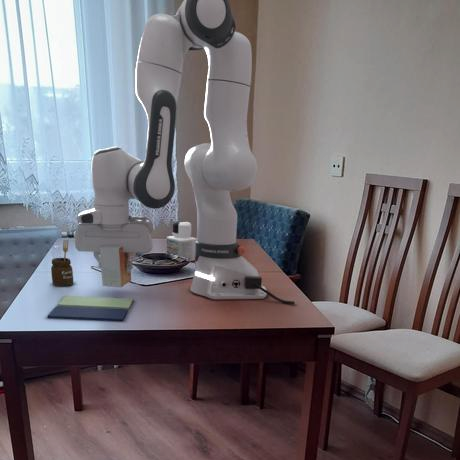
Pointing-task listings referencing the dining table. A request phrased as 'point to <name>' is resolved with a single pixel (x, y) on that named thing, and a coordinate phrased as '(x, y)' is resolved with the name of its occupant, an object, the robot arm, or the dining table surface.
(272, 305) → the dining table surface
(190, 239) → the container
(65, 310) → the slate mat
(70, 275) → the utensil holder
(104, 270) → the small box
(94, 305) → the sage mat
